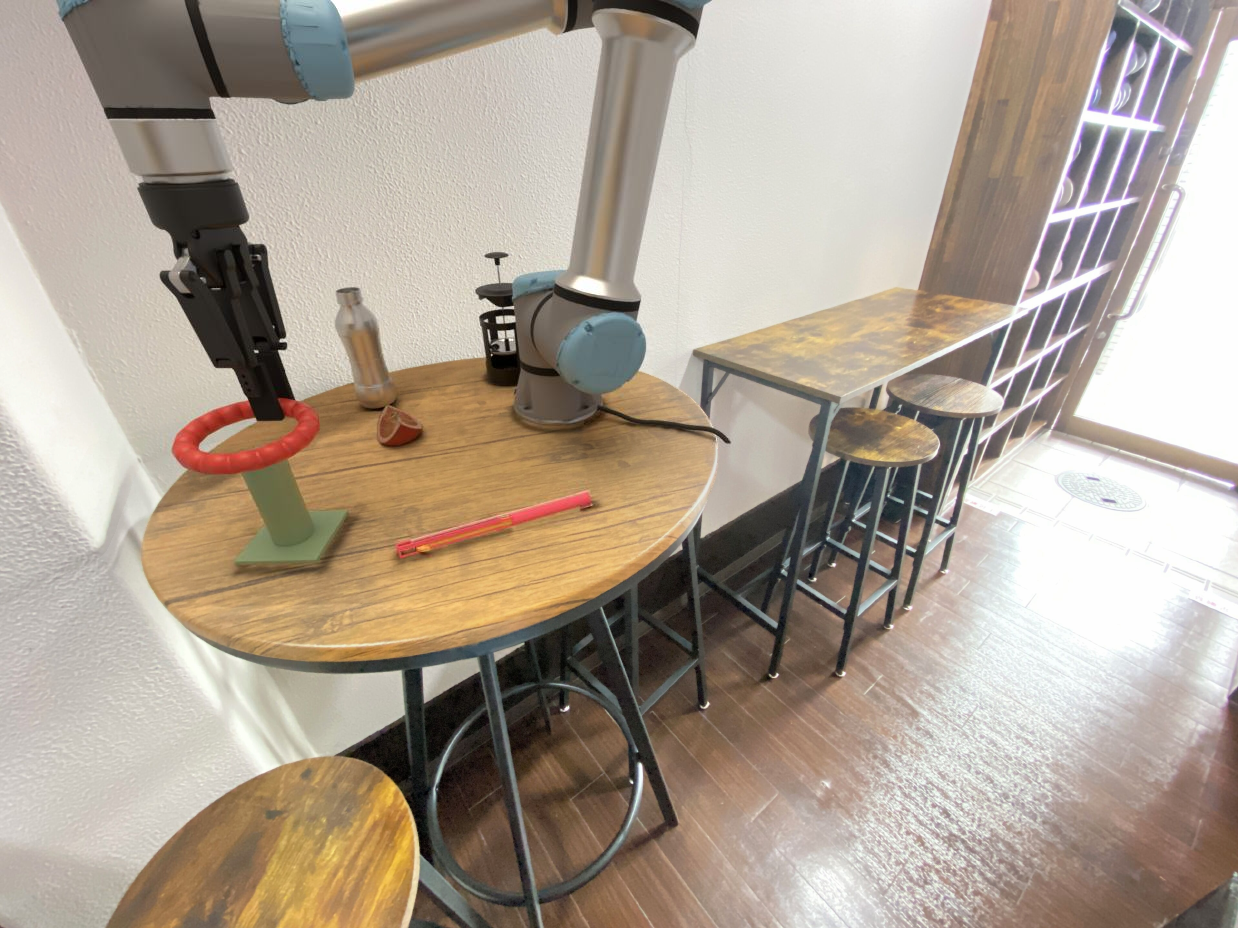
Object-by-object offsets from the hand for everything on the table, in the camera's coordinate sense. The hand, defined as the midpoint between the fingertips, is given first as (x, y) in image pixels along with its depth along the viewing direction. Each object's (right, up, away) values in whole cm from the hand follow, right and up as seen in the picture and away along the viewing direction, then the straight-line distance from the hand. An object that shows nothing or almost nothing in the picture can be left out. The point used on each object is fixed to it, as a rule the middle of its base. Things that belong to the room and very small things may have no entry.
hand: (277, 412), depth 60 cm
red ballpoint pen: (+24, -14, +6) cm, 28 cm away
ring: (0, -3, -5) cm, 5 cm away
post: (0, -15, +3) cm, 16 cm away
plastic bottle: (-4, +5, +34) cm, 35 cm away
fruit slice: (+5, -2, +24) cm, 24 cm away
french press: (+18, +12, +45) cm, 50 cm away
